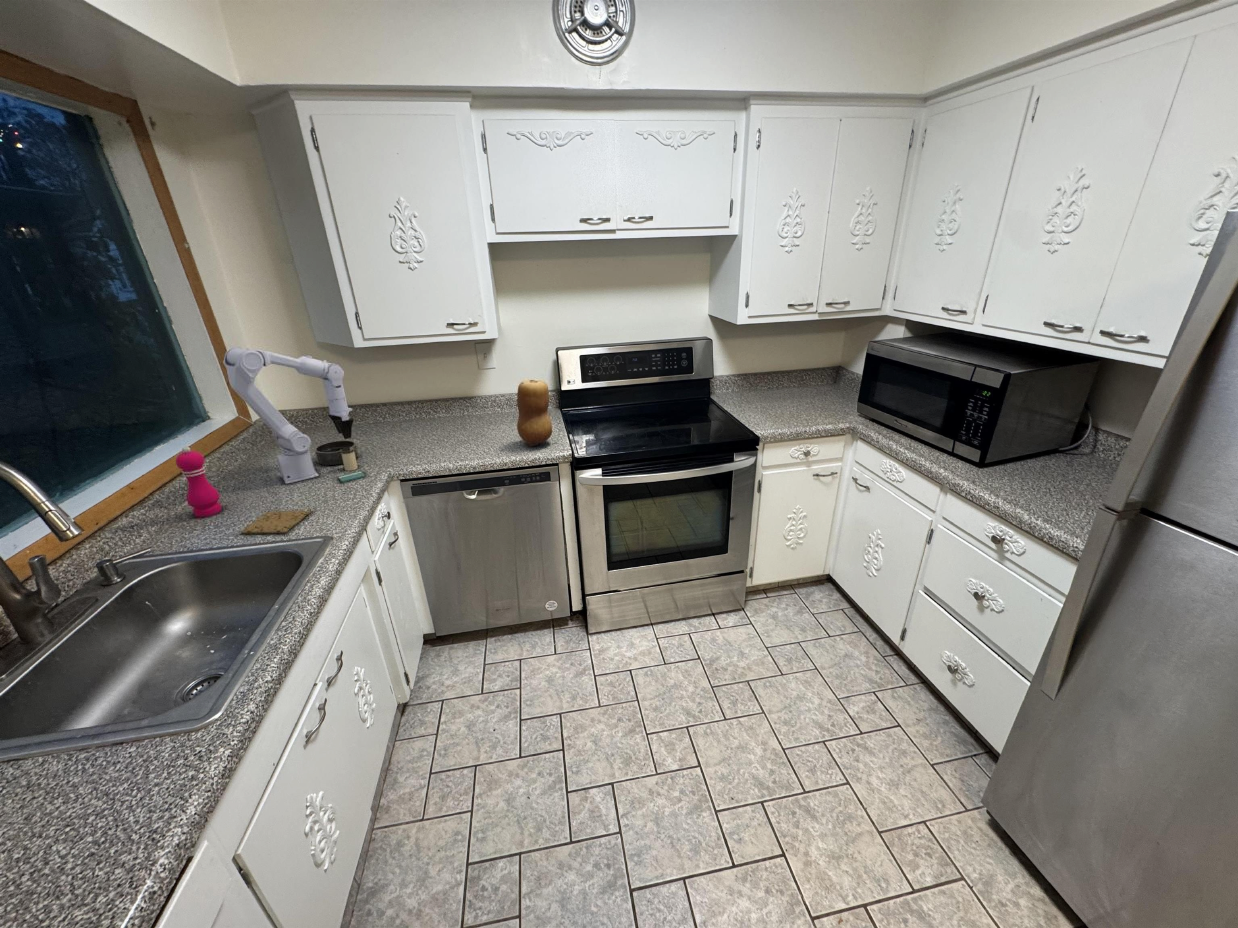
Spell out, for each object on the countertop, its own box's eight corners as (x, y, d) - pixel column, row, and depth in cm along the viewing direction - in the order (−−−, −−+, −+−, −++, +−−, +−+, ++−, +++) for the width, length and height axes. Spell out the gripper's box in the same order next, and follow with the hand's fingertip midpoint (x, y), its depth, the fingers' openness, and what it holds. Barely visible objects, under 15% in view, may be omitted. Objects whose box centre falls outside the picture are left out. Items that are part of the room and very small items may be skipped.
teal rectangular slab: (342, 482, 163) (341, 481, 163) (338, 478, 166) (337, 476, 166) (365, 477, 167) (364, 475, 167) (360, 472, 171) (360, 470, 170)
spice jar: (346, 471, 171) (341, 452, 169) (343, 468, 174) (338, 449, 172) (359, 468, 174) (355, 449, 171) (356, 465, 177) (351, 446, 174)
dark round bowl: (322, 469, 174) (319, 455, 172) (314, 458, 183) (310, 445, 181) (363, 459, 181) (360, 446, 180) (353, 450, 191) (350, 437, 189)
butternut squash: (556, 447, 192) (553, 382, 182) (522, 452, 187) (516, 386, 178) (547, 436, 204) (543, 375, 194) (514, 440, 199) (509, 378, 190)
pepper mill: (219, 504, 149) (197, 440, 142) (227, 511, 145) (205, 446, 138) (189, 513, 144) (165, 447, 137) (196, 520, 140) (171, 453, 132)
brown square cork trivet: (312, 512, 144) (311, 508, 143) (286, 533, 133) (285, 530, 132) (270, 512, 144) (269, 509, 143) (240, 533, 133) (239, 530, 132)
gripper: (354, 400, 170) (363, 438, 175) (343, 392, 180) (351, 428, 185) (331, 403, 165) (340, 442, 171) (321, 395, 176) (330, 432, 181)
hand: (344, 435), depth 178 cm, fingers open, 7 cm apart
